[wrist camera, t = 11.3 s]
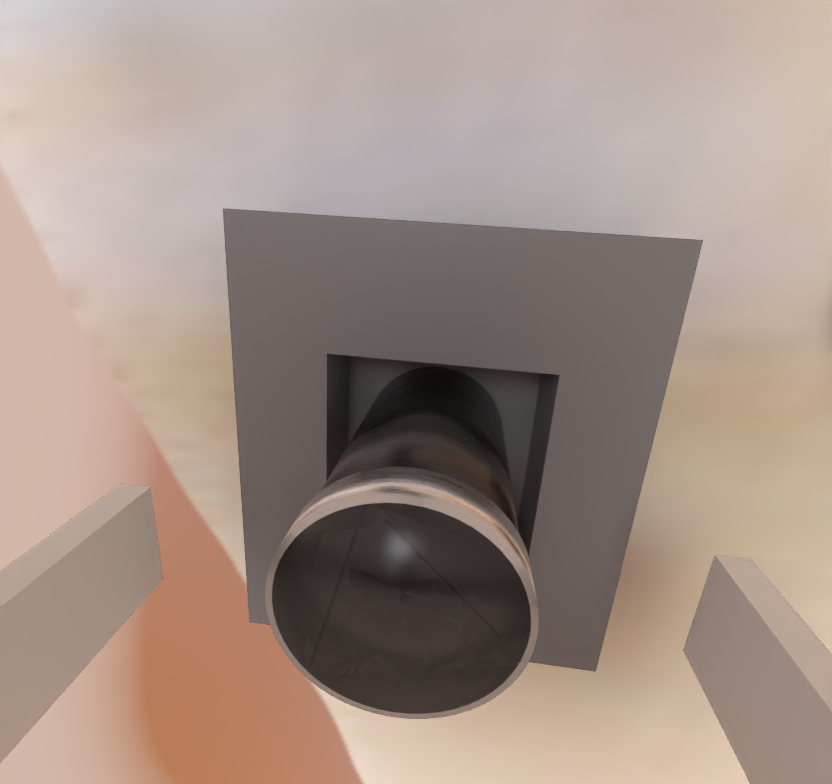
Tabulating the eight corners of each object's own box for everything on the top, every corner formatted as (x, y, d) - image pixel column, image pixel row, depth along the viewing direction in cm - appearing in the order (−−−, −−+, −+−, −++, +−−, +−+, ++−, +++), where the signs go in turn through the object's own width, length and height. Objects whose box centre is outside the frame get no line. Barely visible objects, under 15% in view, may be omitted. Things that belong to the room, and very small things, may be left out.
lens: (366, 356, 19) (258, 480, 9) (514, 369, 18) (559, 514, 9) (363, 485, 21) (270, 698, 11) (497, 500, 20) (519, 736, 11)
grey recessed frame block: (274, 214, 18) (223, 208, 14) (651, 238, 17) (702, 240, 13) (285, 559, 23) (249, 621, 20) (574, 596, 22) (595, 671, 18)
